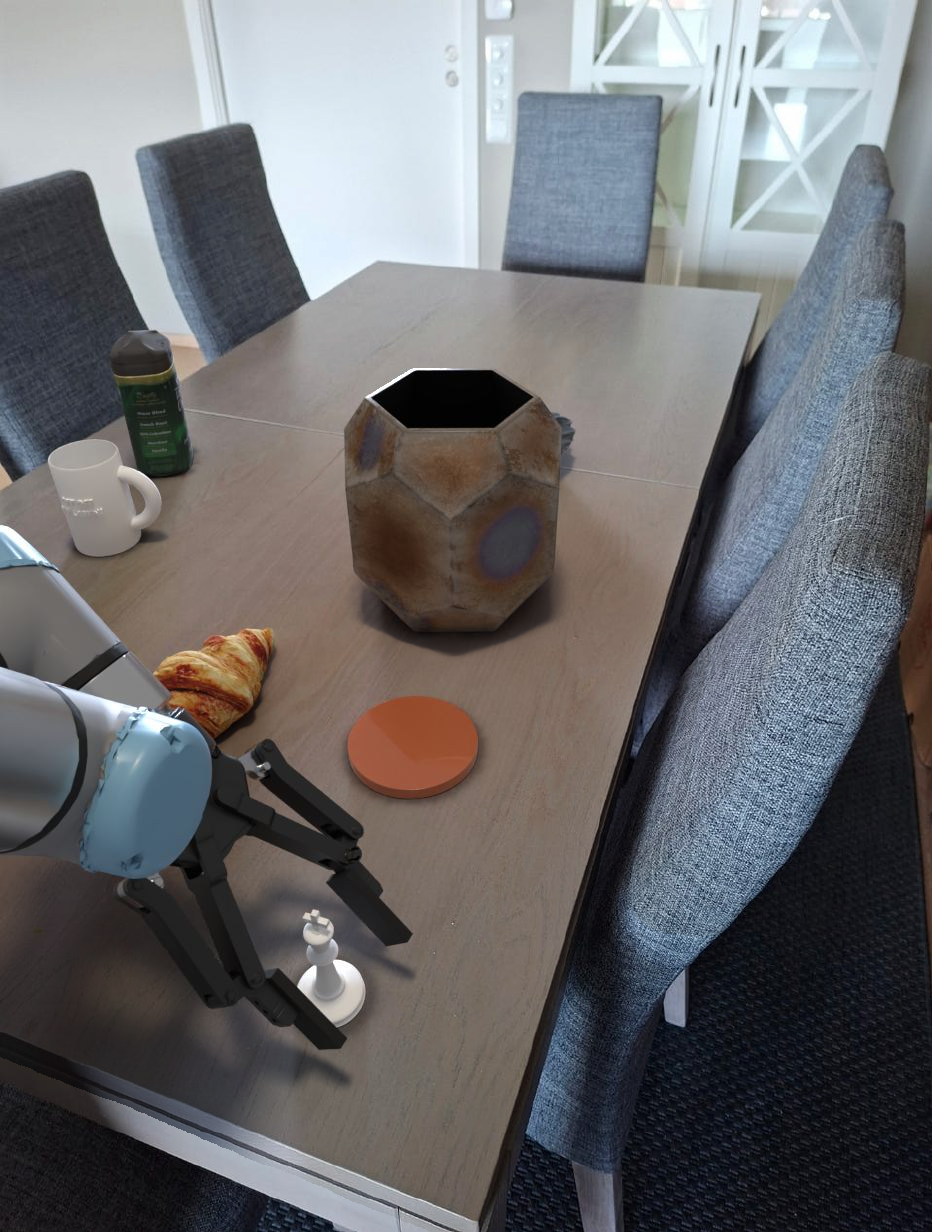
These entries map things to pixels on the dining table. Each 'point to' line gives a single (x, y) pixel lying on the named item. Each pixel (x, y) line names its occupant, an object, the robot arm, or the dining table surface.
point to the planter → (453, 496)
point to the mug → (101, 497)
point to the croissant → (218, 677)
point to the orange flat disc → (412, 747)
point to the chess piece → (329, 974)
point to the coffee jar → (152, 402)
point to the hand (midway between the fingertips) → (367, 989)
